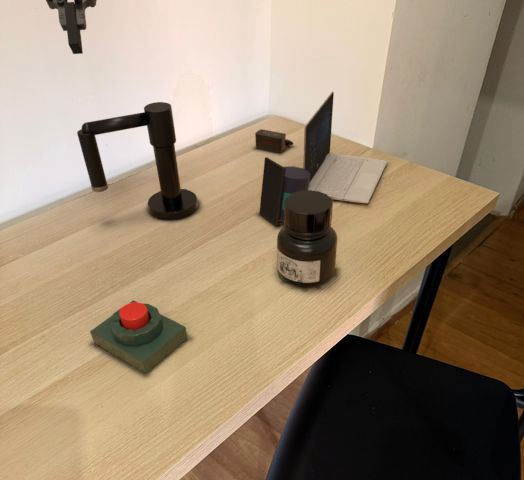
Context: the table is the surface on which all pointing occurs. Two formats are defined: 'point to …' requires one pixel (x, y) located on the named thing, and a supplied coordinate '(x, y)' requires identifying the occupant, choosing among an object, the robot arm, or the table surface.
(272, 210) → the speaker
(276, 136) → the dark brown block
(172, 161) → the round black base
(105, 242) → the table surface
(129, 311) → the button
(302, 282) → the ink bottle
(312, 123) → the laptop
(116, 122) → the crank handle
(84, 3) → the robot arm
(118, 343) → the control box
